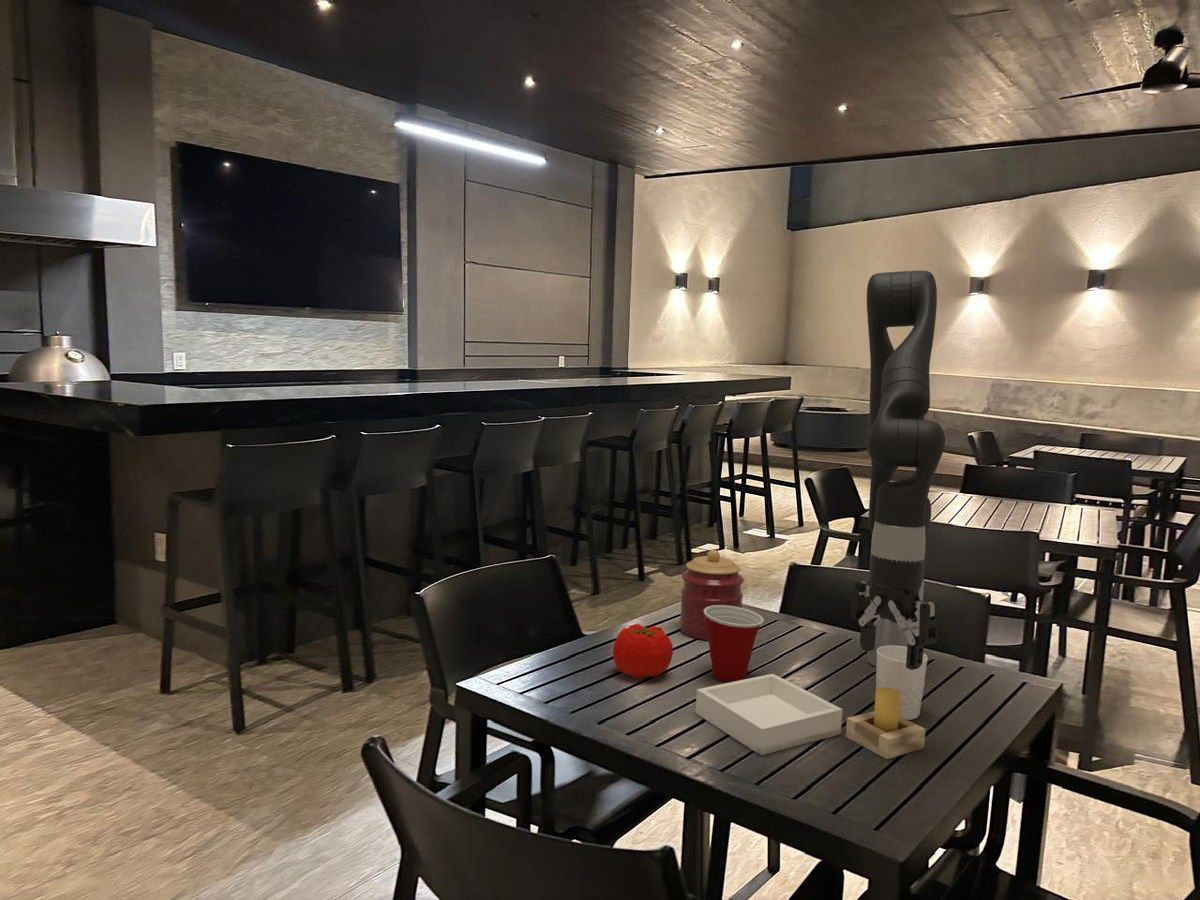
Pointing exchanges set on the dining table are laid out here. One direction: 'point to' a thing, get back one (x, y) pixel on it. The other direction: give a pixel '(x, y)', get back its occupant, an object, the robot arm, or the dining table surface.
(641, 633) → the tomato
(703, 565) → the canister
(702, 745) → the dining table surface
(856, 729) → the socket block
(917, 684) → the white cup
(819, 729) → the tray
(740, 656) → the plastic cup
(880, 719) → the dowel
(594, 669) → the dining table surface
